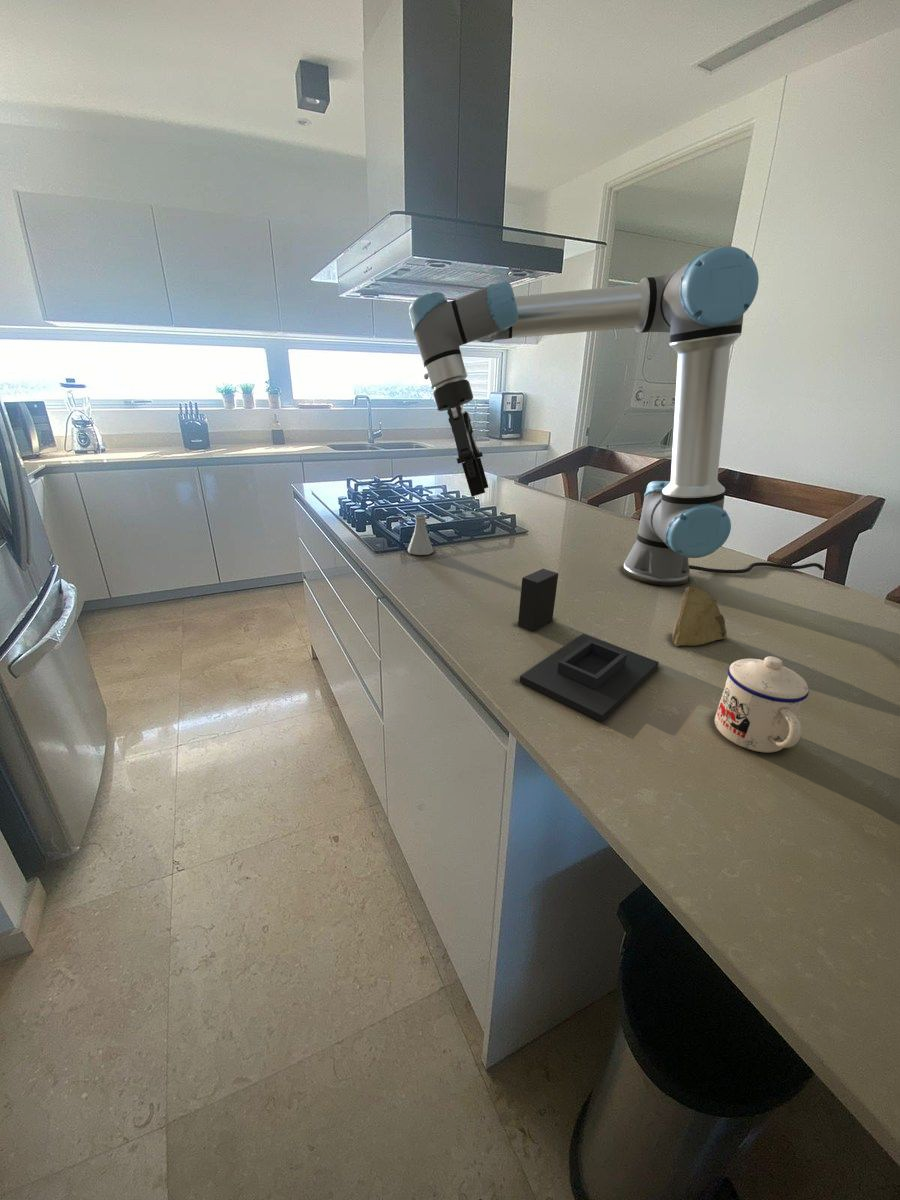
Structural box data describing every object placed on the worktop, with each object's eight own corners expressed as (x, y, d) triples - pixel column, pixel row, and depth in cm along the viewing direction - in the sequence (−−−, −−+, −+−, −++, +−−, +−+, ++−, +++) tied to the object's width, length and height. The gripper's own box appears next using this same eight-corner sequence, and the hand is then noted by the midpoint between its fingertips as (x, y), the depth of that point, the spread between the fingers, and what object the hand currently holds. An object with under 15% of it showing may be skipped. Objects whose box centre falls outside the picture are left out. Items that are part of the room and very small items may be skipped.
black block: (537, 614, 99) (543, 568, 95) (552, 619, 97) (558, 573, 93) (517, 625, 94) (522, 577, 90) (532, 631, 92) (538, 582, 88)
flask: (435, 548, 136) (435, 513, 132) (431, 556, 129) (432, 520, 125) (409, 546, 136) (409, 511, 132) (405, 555, 130) (404, 518, 126)
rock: (726, 618, 94) (672, 604, 96) (747, 597, 87) (688, 582, 89) (720, 668, 90) (664, 652, 92) (741, 650, 82) (680, 633, 84)
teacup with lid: (700, 711, 71) (720, 641, 66) (761, 712, 71) (786, 642, 66) (746, 771, 60) (775, 693, 55) (819, 772, 60) (854, 694, 55)
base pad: (582, 639, 90) (584, 623, 89) (657, 668, 81) (661, 651, 80) (519, 682, 76) (521, 664, 75) (601, 722, 68) (604, 703, 66)
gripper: (440, 397, 107) (468, 492, 112) (420, 383, 83) (456, 503, 88) (473, 386, 105) (499, 482, 111) (461, 367, 82) (496, 491, 87)
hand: (480, 491), depth 99 cm, fingers open, 13 cm apart
